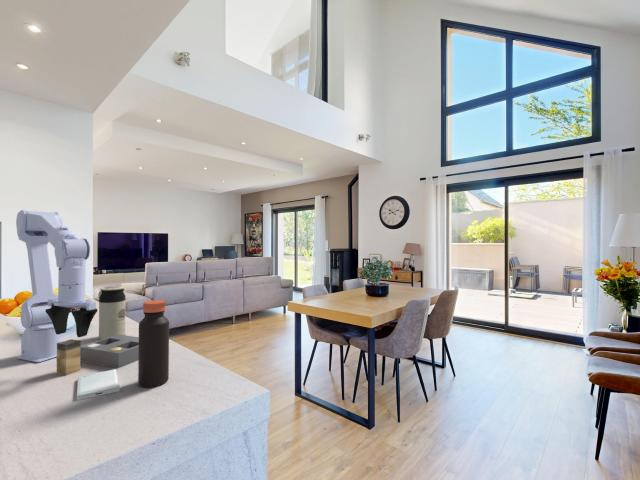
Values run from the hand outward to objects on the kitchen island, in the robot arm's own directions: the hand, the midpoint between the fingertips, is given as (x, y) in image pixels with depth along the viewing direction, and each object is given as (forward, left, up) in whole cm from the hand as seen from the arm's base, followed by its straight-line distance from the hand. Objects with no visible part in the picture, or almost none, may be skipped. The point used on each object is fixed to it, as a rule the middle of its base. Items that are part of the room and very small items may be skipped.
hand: (71, 334), depth 87 cm
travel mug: (-17, +26, -10) cm, 33 cm away
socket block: (+2, +13, -10) cm, 16 cm away
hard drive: (+15, -3, -11) cm, 18 cm away
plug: (0, 0, -10) cm, 10 cm away
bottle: (+26, +3, -10) cm, 28 cm away
